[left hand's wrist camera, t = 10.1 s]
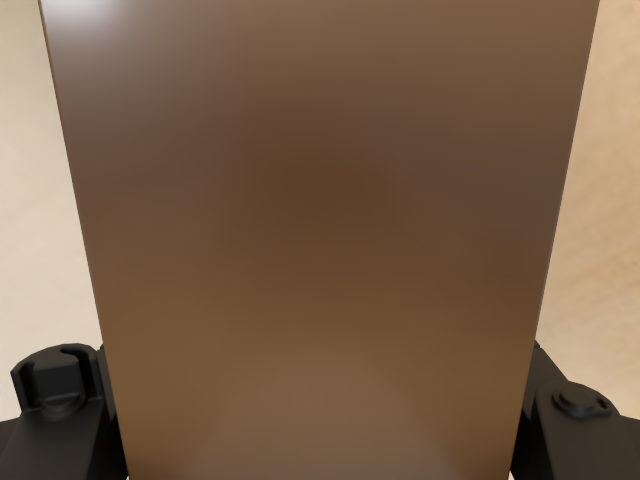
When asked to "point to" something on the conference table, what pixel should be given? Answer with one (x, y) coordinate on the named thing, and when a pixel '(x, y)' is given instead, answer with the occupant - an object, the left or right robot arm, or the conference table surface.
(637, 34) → the conference table surface
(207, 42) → the post
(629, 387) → the conference table surface
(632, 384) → the conference table surface
